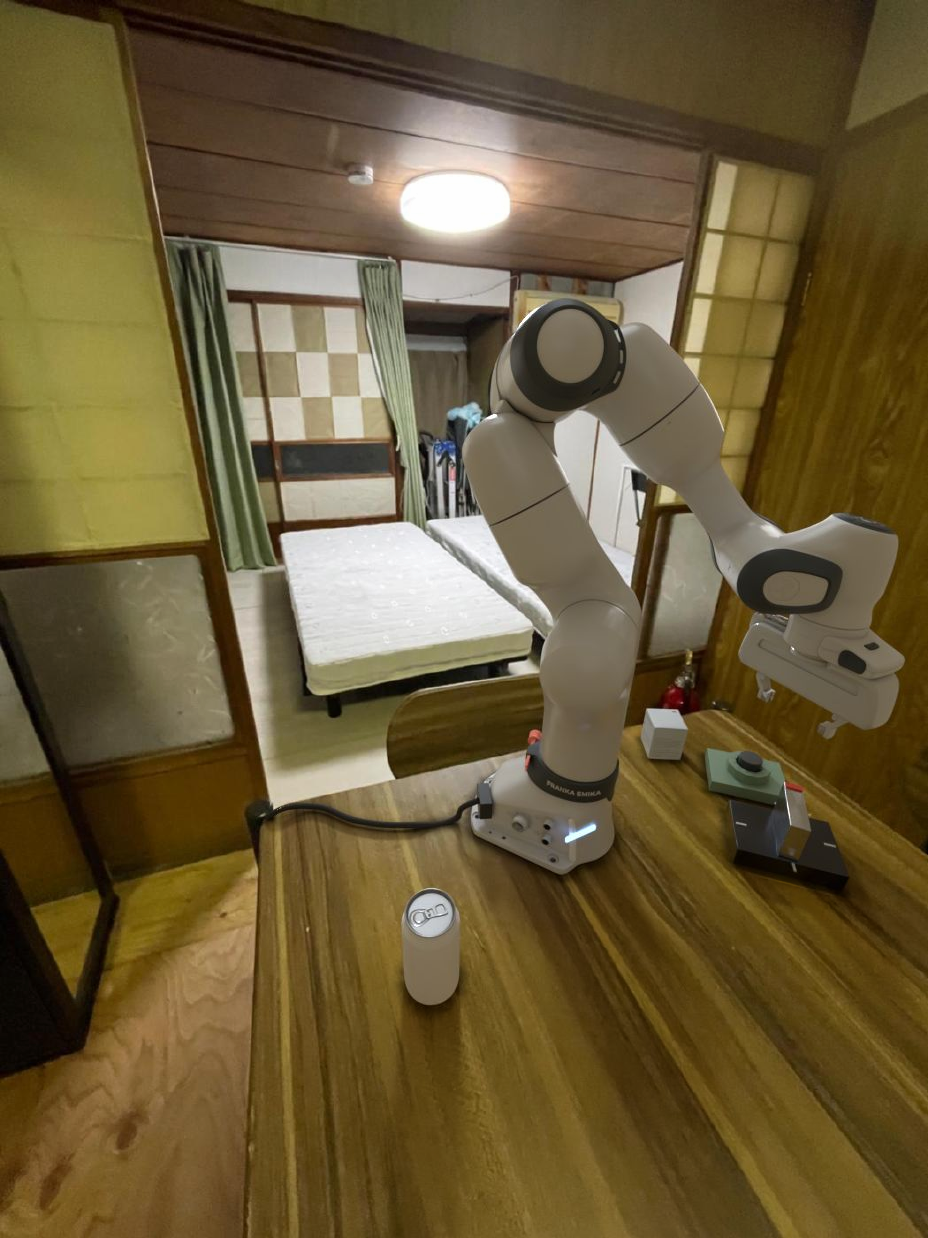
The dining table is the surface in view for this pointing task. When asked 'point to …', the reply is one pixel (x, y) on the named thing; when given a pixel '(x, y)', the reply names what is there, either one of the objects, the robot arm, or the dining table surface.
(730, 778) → the button block
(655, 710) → the product box
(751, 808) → the base
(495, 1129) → the dining table surface
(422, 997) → the can
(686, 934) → the dining table surface
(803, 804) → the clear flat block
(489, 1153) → the dining table surface
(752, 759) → the button
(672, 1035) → the dining table surface
